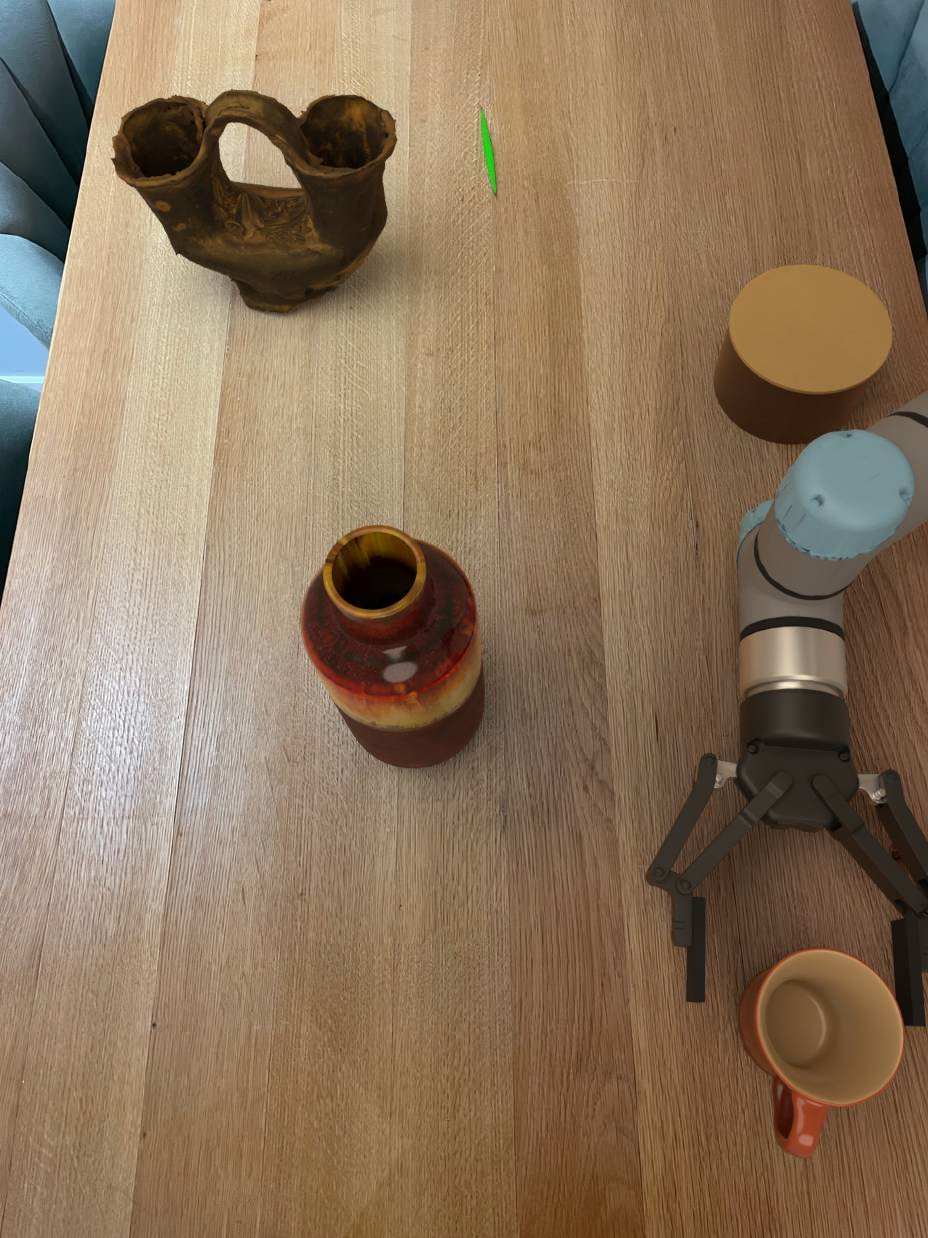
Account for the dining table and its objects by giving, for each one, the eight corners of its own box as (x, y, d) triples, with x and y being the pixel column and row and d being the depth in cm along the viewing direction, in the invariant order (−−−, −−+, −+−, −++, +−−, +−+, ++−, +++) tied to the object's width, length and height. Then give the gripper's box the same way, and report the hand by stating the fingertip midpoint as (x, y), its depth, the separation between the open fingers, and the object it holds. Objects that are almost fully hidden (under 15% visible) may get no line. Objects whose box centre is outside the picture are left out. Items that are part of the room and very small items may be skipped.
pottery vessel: (421, 236, 96) (399, 52, 77) (412, 322, 92) (387, 148, 73) (180, 235, 97) (104, 54, 79) (161, 318, 93) (76, 148, 75)
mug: (736, 939, 68) (772, 927, 59) (859, 981, 67) (916, 975, 57) (697, 1116, 64) (729, 1133, 55) (827, 1164, 62) (883, 1191, 53)
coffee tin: (855, 329, 89) (886, 267, 81) (864, 450, 83) (898, 395, 76) (711, 322, 90) (728, 260, 82) (711, 441, 85) (730, 387, 77)
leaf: (492, 202, 97) (492, 196, 97) (476, 107, 103) (476, 100, 102) (500, 201, 97) (500, 195, 97) (484, 106, 103) (484, 100, 102)
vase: (332, 676, 78) (250, 523, 54) (456, 628, 79) (431, 457, 55) (377, 800, 73) (310, 694, 49) (508, 747, 75) (504, 618, 51)
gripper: (947, 730, 71) (977, 1035, 63) (615, 702, 73) (602, 993, 65) (994, 699, 64) (1034, 1037, 56) (626, 669, 66) (613, 991, 58)
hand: (802, 1015), depth 61 cm, fingers open, 13 cm apart
